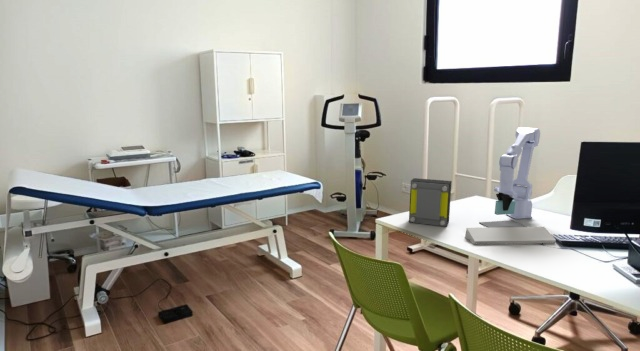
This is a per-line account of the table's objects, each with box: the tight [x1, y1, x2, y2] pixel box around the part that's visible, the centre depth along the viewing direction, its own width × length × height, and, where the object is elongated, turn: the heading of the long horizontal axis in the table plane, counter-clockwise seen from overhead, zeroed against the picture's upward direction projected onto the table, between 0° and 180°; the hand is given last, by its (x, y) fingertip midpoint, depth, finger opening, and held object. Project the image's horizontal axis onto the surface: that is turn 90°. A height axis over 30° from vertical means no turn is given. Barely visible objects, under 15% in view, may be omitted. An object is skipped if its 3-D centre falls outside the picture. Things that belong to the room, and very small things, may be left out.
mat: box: [478, 219, 528, 228], centre depth 212 cm, size 18×14×1 cm
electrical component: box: [408, 177, 452, 227], centre depth 215 cm, size 18×10×20 cm, turn 68°
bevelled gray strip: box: [464, 226, 557, 245], centre depth 193 cm, size 34×5×10 cm
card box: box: [494, 200, 515, 216], centre depth 212 cm, size 9×2×6 cm, turn 103°
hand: (503, 209), depth 212 cm, fingers closed on card box, 2 cm apart
